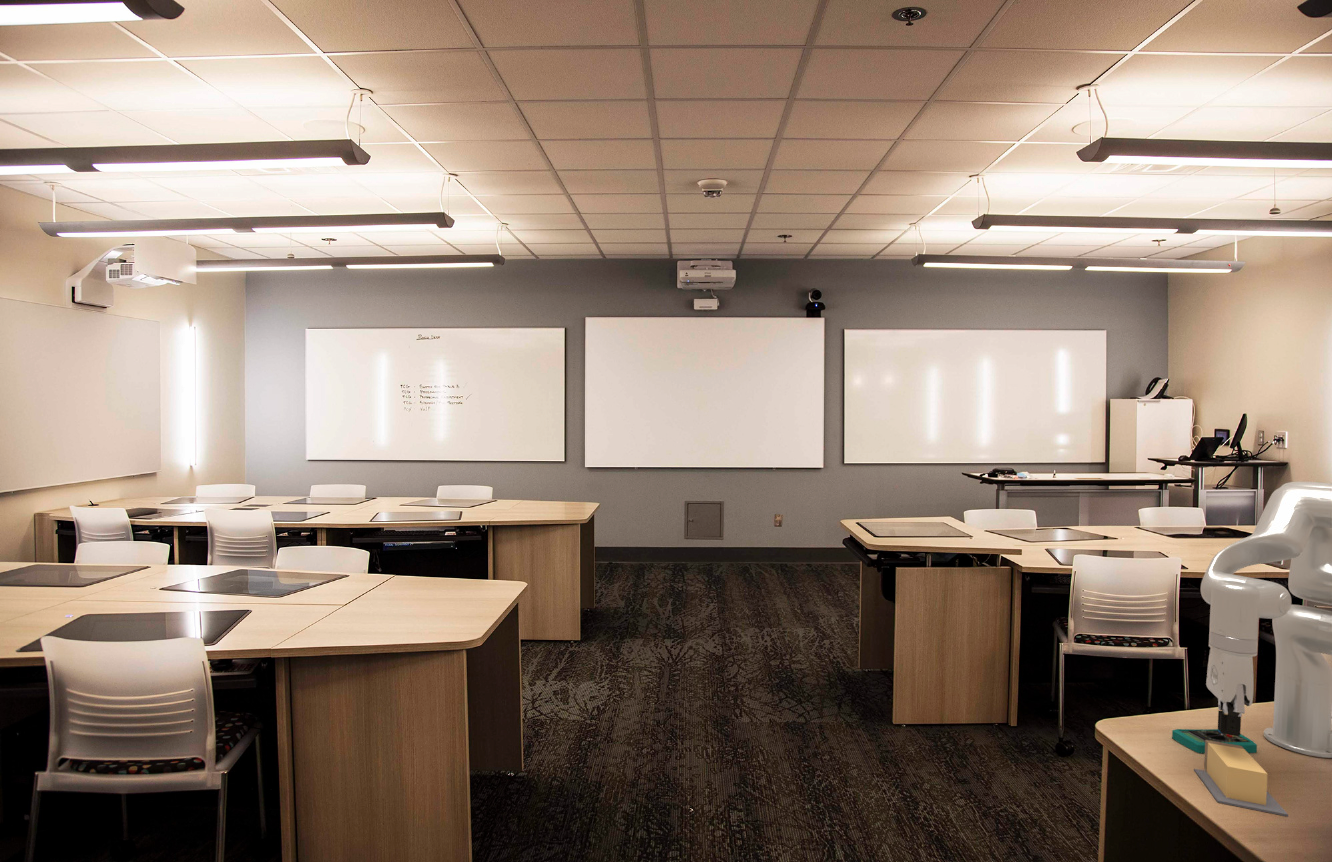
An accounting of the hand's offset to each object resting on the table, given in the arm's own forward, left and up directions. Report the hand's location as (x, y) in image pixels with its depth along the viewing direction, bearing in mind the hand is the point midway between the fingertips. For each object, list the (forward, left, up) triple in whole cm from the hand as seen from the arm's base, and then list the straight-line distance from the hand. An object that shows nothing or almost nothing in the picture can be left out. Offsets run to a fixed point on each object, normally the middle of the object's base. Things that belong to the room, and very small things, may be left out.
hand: (1228, 732), depth 136 cm
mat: (0, +5, -10) cm, 11 cm away
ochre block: (0, -3, -6) cm, 7 cm away
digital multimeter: (-3, -18, -10) cm, 21 cm away
